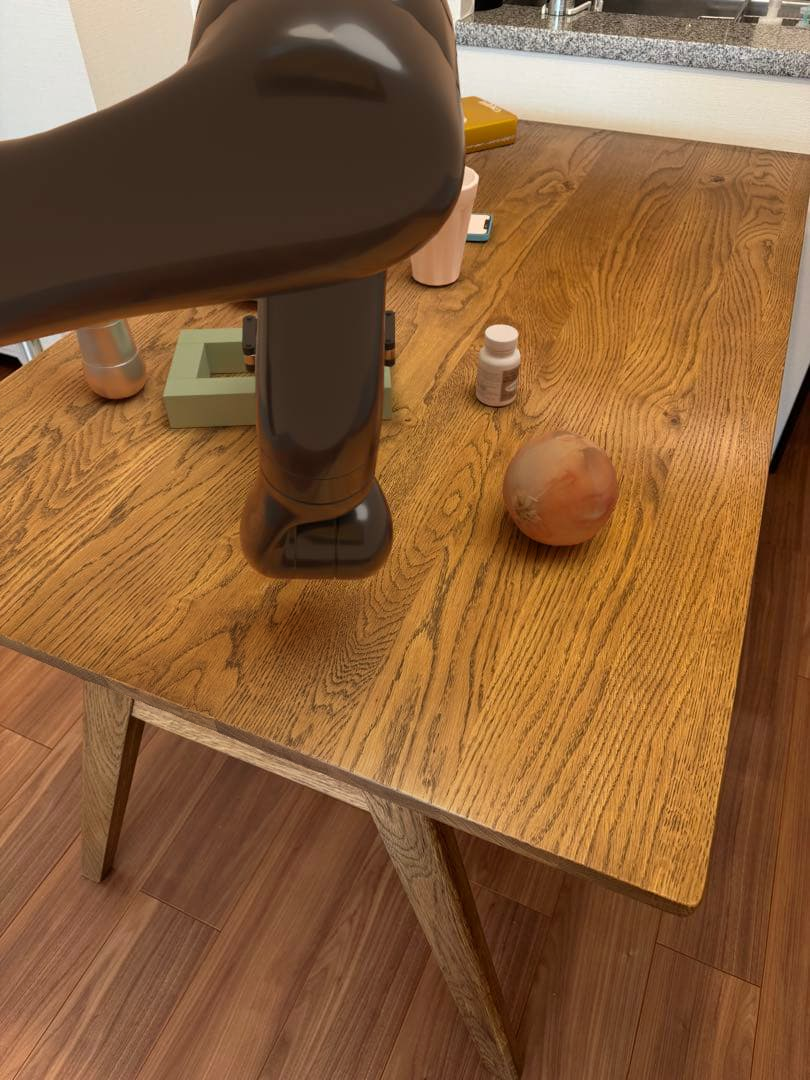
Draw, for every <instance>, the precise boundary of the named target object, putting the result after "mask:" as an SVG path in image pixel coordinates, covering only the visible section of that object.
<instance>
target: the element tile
mask: <svg viewBox="0 0 810 1080" xmlns="http://www.w3.org/2000/svg"><path fill="white" fill-rule="evenodd" d="M461 102H462V106H463V117H464V130H465V144H466V147H467V146H471V145H477V144H481V143H485V142H489V141H493V140H497V139H501V138H504V137H508V136H512V135H515V134H516V135H517V130H518V120H519V117H518V116H517V115H516V114H514V113H513V112H511V111H508V110H506V109H504V108H502V107H500V106H498V105H496V104H493V103H492V102H489V101H487V100H485V99H483V98H481V97H478V96H476V95H471V96H465V97H461ZM516 139H517V136H516V137H515V138H513V139H509V140H505V141H500V142H495V143H491V144H486V145H481V146H477V147H472V148H467V149H466V155H467V154H471V153H478V152H481V151H486V150H490V149H495V148H500V147H504V146H509V145H512V144H514V143H515V142H516Z"/></svg>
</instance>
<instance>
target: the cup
mask: <svg viewBox="0 0 810 1080" xmlns="http://www.w3.org/2000/svg"><path fill="white" fill-rule="evenodd" d="M479 180H480V176H479V174H478V173H477V172H476V171H475V170H474V169H473V168H471V167H468V166H466V165H465V172H464V179H463V184H462V189H461V193H460V196H459V199H458V201H457V204H456V206H455V208H454V210H453V212H452V214H451V216H450V217H449V218H448V220H447V221H446V223H445V224H444V225H443V227H442V228H441V229H440V231H439V232H438V234H437V235H436V236H435V237H434V238H433V239H432V240H431V241H430V242H429V243H428V244H427V245H425V246H424V247H423V248H422V249H420V250H419V251H418V252H417V253H415V254H413V255H412V256H410V261H411V262H410V263H411V270H412V271H411V272H412V274H411V276H412V277H413V279H414V280H415V281H417V282H419V283H421V284H424V285H428V286H443V285H444V286H445V285H449V284H451V283H454V282H456V281H457V280H458V279H459V277H460V272H461V266H462V262H463V257H464V251H465V247H466V241H467V240H466V237H467V232H468V228H469V223H470V218H471V213H473V207H474V202H475V199H476V197H477V193H478V192H477V191H478V187H479Z"/></svg>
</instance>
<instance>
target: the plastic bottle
mask: <svg viewBox="0 0 810 1080" xmlns="http://www.w3.org/2000/svg"><path fill="white" fill-rule="evenodd" d="M75 334H76V338H77V342H78V346H79V350H80V355H81V356H80V359H81V360H80V361H81V368H82V373H83V377H84V379H85V381H86V382H87V384H88V387H89V388H90V389H91V391H93V392H94V393H95V394H97V395H98V396H100V397H102V398H104V399H109V400H120V399H125V398H128V397H129V398H130V397H132V396H134V395H136V394H138V393H139V392H140V391H141V390H142V389H143V387H144V385H145V384H146V381H147V378H148V377H147V376H148V375H147V363H146V361H145V359H144V356H143V354H142V351H141V349H140V348H139V346H138V345H137V343H136V340H135V337H134V334H133V332H132V330H131V327H130V324H129V321H128V318H126V319H120V320H115V321H111V322H106V323H102V324H98V325H93V326H89V327H85V328H81V329H77V330H75Z"/></svg>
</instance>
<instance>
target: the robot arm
mask: <svg viewBox="0 0 810 1080" xmlns="http://www.w3.org/2000/svg"><path fill="white" fill-rule="evenodd" d="M454 26H455V25H454V21H453V16H452V12H451V8H450V5H449V2H448V0H198V4H197V8H196V11H195V18H194V23H193V28H192V33H191V39H190V43H189V44H190V45H189V49H188V56H187V62H186V63H185V64H184V65H183V66H182V67H180V68H179V69H178V70H176V71H175V72H174V73H172V74H170V76H168V77H166V78H165V79H163V80H160V81H158V82H157V83H155V84H153V85H151V86H149V87H148V88H146V89H144V90H142V91H140V92H138V93H136V94H133V95H132V96H130V97H127V98H125V99H123V100H121V101H119V102H117V103H114V104H112V105H110V106H108V107H105V108H103V109H101V110H98V111H96V112H92V113H90V114H88V115H85V116H82V117H80V118H76V119H74V120H72V121H69V122H66V123H64V124H62V125H58V126H56V127H54V128H51V129H49V130H45V131H42V132H38V133H34V134H31V135H27V136H23V137H19V138H12V139H4V140H0V348H4V347H8V346H12V345H17V344H22V343H25V342H30V341H34V340H39V339H42V338H47V337H51V336H55V335H60V334H65V333H69V332H72V331H76V330H77V329H81V328H85V327H89V326H93V325H98V324H102V323H106V322H111V321H115V320H120V319H126V318H127V319H131V318H136V317H142V316H147V315H154V314H161V313H167V312H174V311H182V310H188V309H189V310H190V309H194V308H202V307H209V306H217V305H224V304H230V303H238V302H239V303H240V302H245V301H254V300H253V299H258V301H257V311H256V314H257V315H252V314H248V315H245V316H243V317H242V327H241V328H242V349H243V355H244V361H245V367H246V370H247V371H249V372H248V373H254V376H255V418H256V425H255V432H256V433H255V434H256V445H257V456H258V464H259V465H258V473H257V475H256V477H255V479H254V481H253V483H252V484H251V488H250V489H249V491H248V494H247V497H246V499H245V502H244V506H243V509H242V512H241V516H240V524H239V544H240V549H241V553H242V556H243V557H244V560H245V561H246V562H247V564H248V565H249V566H250V567H251V568H252V569H253V570H254V571H255V572H256V573H258V574H259V575H262V576H263V577H266V578H269V579H274V580H301V581H303V580H306V581H308V580H309V581H310V580H311V581H312V580H313V581H316V580H317V581H333V580H336V581H360V580H361V581H362V580H365V579H368V578H371V577H372V576H374V575H376V574H377V573H378V572H380V571H381V569H382V568H383V567H384V566H385V564H386V563H387V561H388V559H390V558H389V557H390V556H391V552H392V550H393V545H394V523H393V517H392V513H391V510H390V509H391V508H390V506H389V503H388V500H387V498H386V496H385V493H384V490H383V489H382V486H381V485H380V483H379V481H378V479H377V477H376V470H377V463H378V457H379V456H378V455H379V448H380V441H381V433H382V425H383V424H382V423H383V420H382V414H383V400H384V366H386V367H390V368H392V367H394V366H395V365H396V312H395V311H393V310H390V309H389V310H386V299H387V282H388V281H387V280H388V270H389V269H390V268H392V267H394V266H396V265H397V264H399V263H402V262H403V261H405V260H407V259H409V258H411V256H412V255H413V254H415V253H417V252H418V251H419V250H420V249H422V248H423V247H424V246H425V245H427V244H428V243H429V242H430V241H431V240H432V239H433V238H434V237H435V236H436V235H437V234H438V232H439V231H440V229H441V228H442V227H443V225H444V224H445V223H446V221H447V220H448V218H449V217H450V216H451V214H452V212H453V210H454V208H455V206H456V204H457V201H458V199H459V196H460V193H461V189H462V184H463V179H464V172H465V166H466V160H467V159H466V157H467V156H466V155H467V154H466V144H465V130H464V117H463V106H462V102H461V98H462V94H461V84H460V75H459V74H460V73H459V63H458V62H459V61H458V50H457V40H456V34H455V27H454Z"/></svg>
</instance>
